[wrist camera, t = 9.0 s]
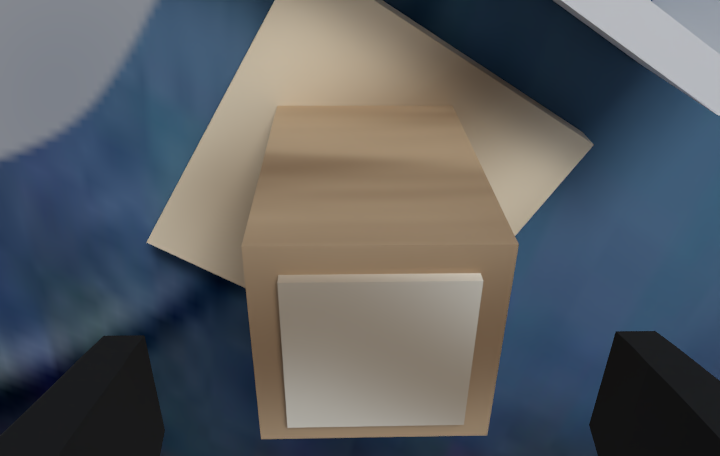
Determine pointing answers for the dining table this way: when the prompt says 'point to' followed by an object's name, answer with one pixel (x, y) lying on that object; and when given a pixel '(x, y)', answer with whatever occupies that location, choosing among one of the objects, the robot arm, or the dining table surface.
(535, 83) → the dining table surface
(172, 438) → the dining table surface
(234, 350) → the dining table surface
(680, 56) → the white square frame
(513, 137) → the birch pad
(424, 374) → the oak block
